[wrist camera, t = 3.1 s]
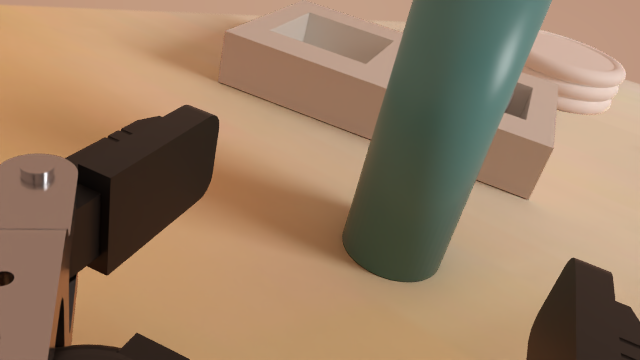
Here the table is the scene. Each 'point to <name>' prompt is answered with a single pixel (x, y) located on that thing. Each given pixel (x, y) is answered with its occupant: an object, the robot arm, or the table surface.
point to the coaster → (575, 73)
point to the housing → (371, 84)
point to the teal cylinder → (436, 129)
